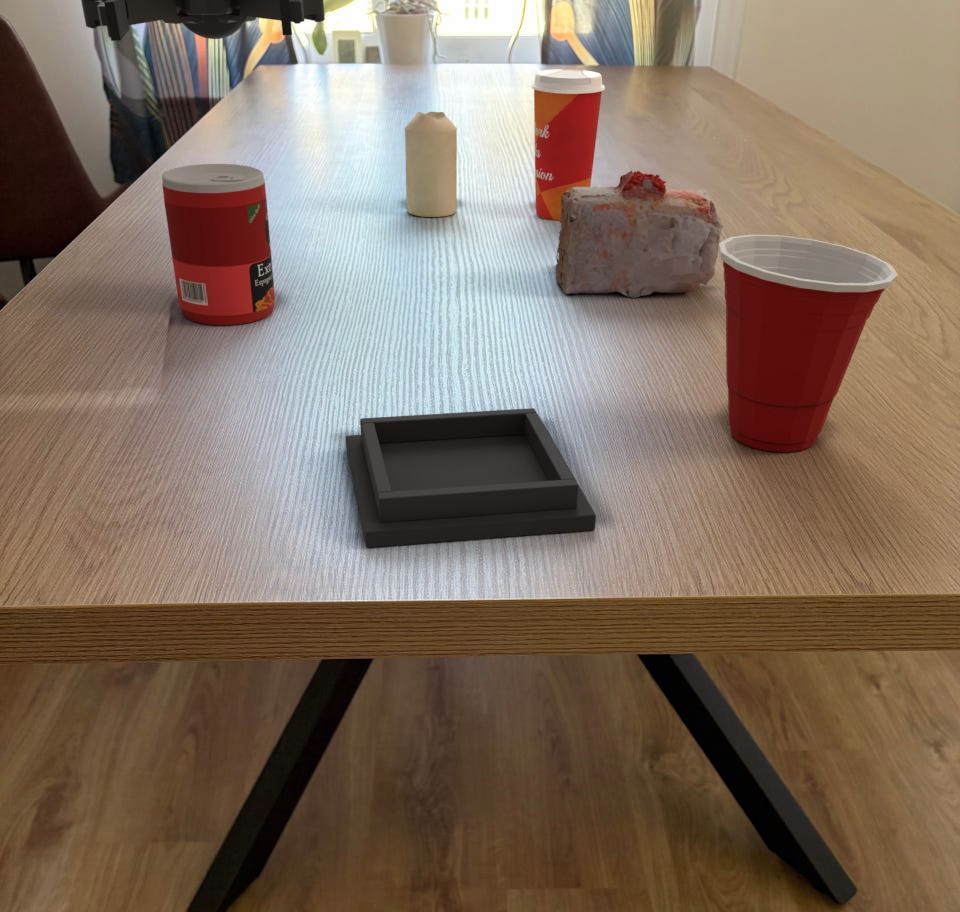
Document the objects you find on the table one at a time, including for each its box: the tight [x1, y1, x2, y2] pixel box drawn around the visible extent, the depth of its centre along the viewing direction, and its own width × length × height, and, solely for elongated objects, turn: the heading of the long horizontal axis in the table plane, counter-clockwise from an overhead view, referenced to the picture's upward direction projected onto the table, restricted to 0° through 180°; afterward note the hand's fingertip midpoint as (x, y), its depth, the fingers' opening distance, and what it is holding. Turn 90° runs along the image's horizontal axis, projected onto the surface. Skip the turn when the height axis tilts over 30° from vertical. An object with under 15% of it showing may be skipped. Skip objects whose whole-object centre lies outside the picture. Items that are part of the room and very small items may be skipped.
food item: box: [555, 170, 724, 299], centre depth 99 cm, size 14×8×10 cm, turn 95°
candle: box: [404, 111, 458, 218], centre depth 121 cm, size 6×6×10 cm
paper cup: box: [530, 68, 606, 221], centre depth 120 cm, size 8×8×14 cm
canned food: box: [161, 163, 276, 326], centre depth 91 cm, size 8×8×11 cm
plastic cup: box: [718, 234, 899, 453], centre depth 71 cm, size 11×11×12 cm
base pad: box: [345, 407, 597, 548], centre depth 67 cm, size 13×13×2 cm
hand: (199, 19), depth 90 cm, fingers open, 13 cm apart
